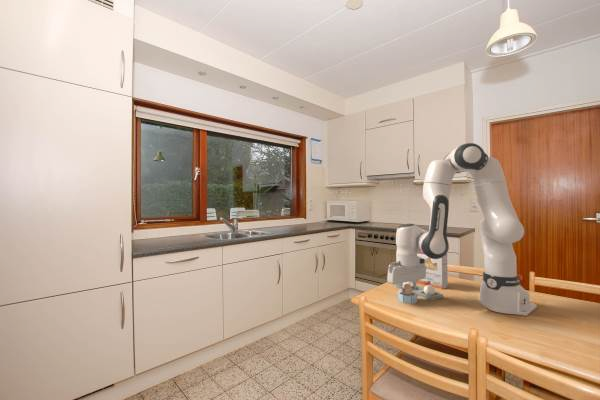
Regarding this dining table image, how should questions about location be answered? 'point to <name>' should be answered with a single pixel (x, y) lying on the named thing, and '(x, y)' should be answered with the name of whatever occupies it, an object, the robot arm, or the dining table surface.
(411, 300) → the egg cup
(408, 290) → the brown egg
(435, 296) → the carton
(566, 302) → the dining table surface
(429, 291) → the cream egg
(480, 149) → the robot arm
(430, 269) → the cracker box
